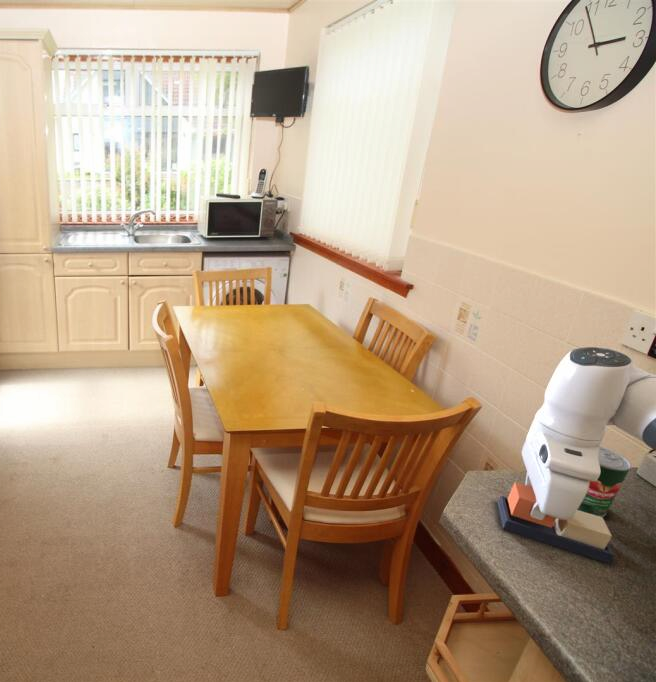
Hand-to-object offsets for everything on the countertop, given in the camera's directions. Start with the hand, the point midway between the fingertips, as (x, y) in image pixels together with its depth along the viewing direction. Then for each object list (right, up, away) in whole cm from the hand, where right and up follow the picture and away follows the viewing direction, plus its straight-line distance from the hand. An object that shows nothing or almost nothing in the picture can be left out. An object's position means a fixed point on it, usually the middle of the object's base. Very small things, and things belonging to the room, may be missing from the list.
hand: (532, 505), depth 85 cm
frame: (+3, -5, 0) cm, 6 cm away
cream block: (+6, -5, -2) cm, 8 cm away
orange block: (0, -2, +1) cm, 2 cm away
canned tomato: (+15, -2, +8) cm, 17 cm away
